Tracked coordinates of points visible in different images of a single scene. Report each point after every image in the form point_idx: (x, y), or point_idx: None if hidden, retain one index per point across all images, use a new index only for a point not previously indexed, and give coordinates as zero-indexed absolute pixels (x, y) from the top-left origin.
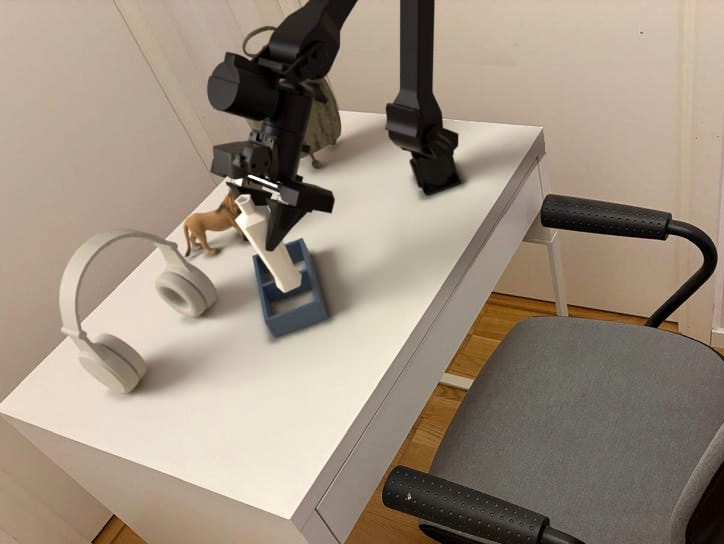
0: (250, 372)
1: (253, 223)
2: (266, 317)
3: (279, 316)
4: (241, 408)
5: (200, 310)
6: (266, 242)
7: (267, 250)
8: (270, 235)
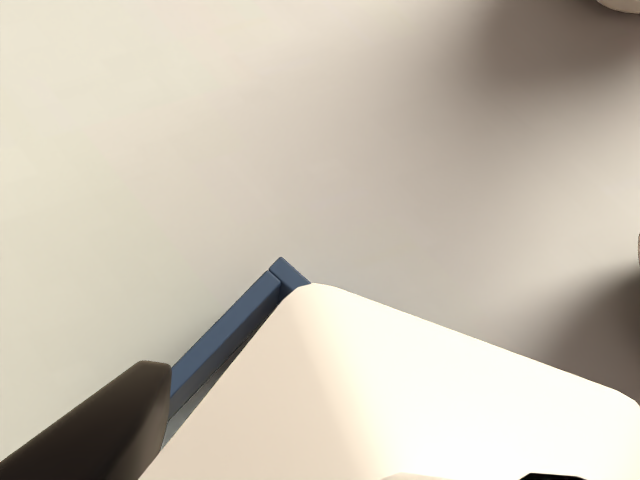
0: (256, 125)
1: (211, 421)
2: (290, 280)
3: (232, 307)
4: (185, 6)
5: (638, 240)
6: (131, 401)
7: (140, 365)
8: (20, 453)
